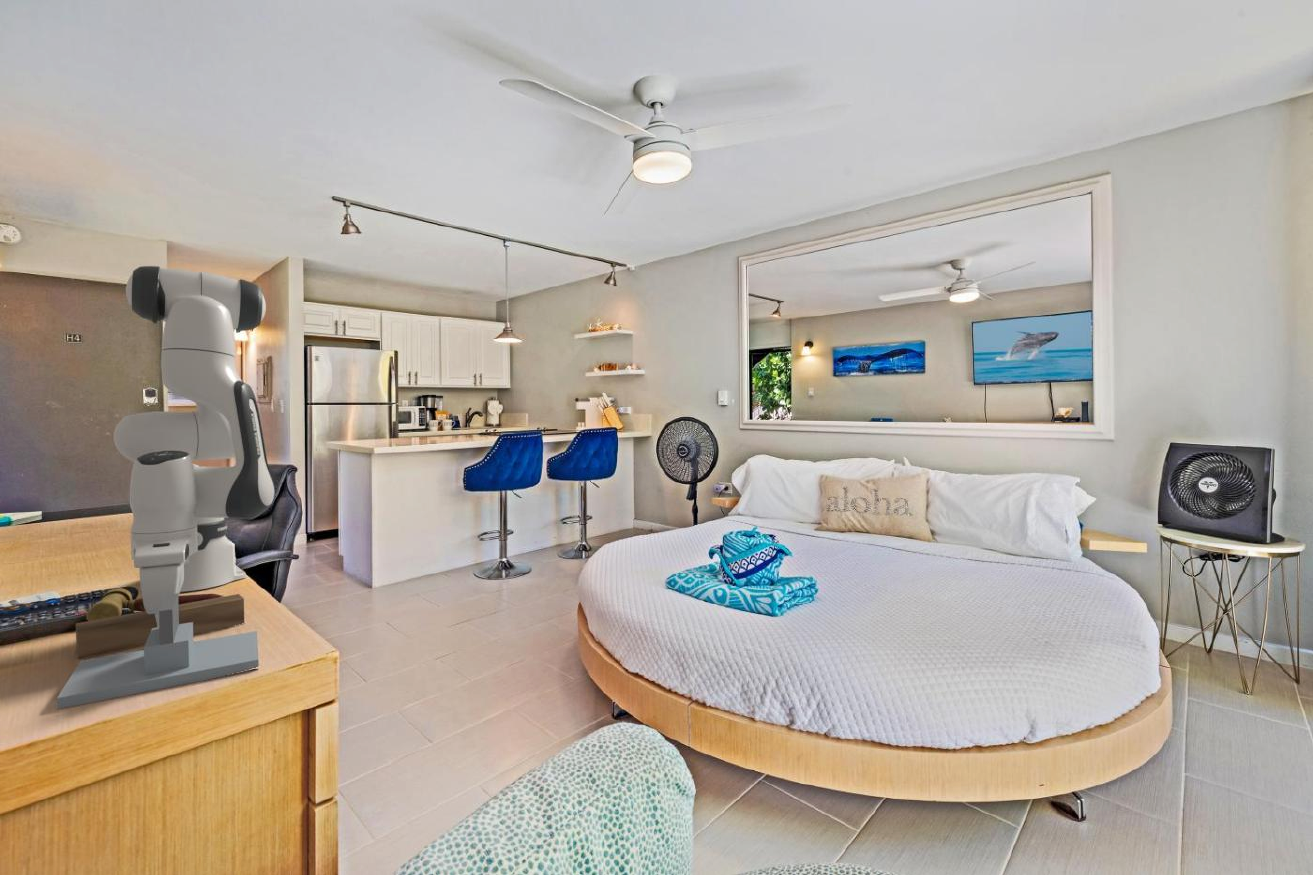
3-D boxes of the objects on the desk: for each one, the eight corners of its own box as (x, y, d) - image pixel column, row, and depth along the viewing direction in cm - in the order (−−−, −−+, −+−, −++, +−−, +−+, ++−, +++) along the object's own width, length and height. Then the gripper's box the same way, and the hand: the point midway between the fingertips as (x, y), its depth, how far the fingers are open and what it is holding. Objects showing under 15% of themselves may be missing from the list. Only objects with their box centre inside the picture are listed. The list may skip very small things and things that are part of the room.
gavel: (234, 581, 125) (229, 594, 117) (232, 602, 125) (227, 616, 117) (102, 588, 114) (86, 603, 106) (101, 612, 115) (85, 628, 106)
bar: (76, 653, 95) (75, 623, 95) (238, 619, 111) (238, 593, 111) (78, 660, 93) (77, 629, 92) (244, 625, 109) (243, 598, 109)
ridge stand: (81, 670, 89) (79, 601, 88) (257, 639, 101) (256, 579, 101) (57, 709, 77) (54, 631, 77) (258, 669, 90) (257, 601, 89)
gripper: (148, 536, 108) (150, 610, 109) (132, 560, 91) (134, 647, 92) (192, 532, 112) (194, 604, 112) (183, 554, 95) (185, 638, 96)
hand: (167, 623), depth 102 cm, fingers open, 6 cm apart
